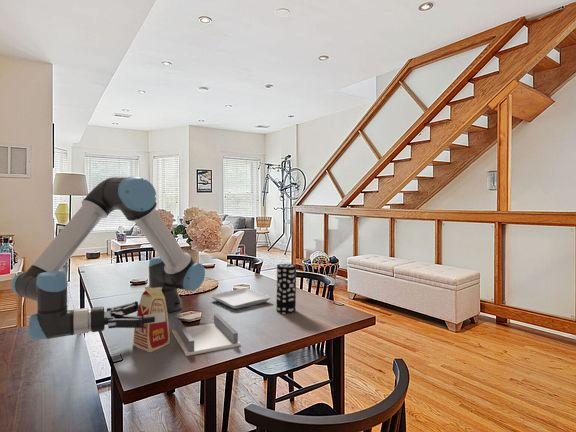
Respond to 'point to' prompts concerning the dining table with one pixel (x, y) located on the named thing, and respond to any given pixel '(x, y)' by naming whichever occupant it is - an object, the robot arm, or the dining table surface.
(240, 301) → the salad plate
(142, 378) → the dining table surface
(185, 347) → the rail board
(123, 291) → the dining table surface
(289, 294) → the white-spotted black cylinder
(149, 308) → the milk carton
